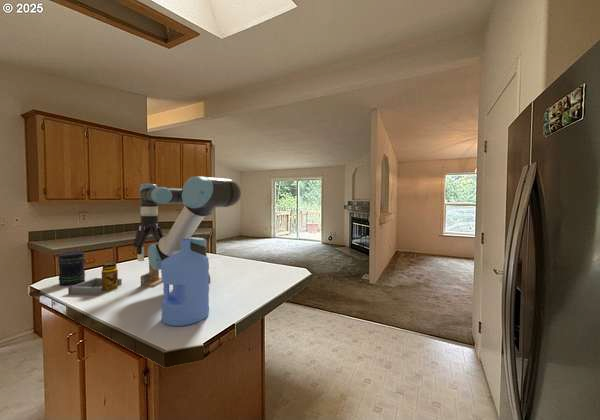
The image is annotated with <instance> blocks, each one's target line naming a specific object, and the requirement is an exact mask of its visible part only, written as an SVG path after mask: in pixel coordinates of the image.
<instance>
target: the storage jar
mask: <svg viewBox="0 0 600 420" xmlns="http://www.w3.org/2000/svg"><path fill="white" fill-rule="evenodd" d="M85 261H86V260H85V251H83V250H81V251H80V250H79V251H77V250H76V251H68V252H67V251H66V252H61V253H58V261H57V262H58V267H59V273H58V282H59V284H58V285H59V286H60V287H71V286H74V285H76V284H79V283H82V282H85V281H86V280H85V279H86V271H85Z"/></svg>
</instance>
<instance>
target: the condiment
mask: <svg viewBox="0 0 600 420" xmlns="http://www.w3.org/2000/svg"><path fill="white" fill-rule="evenodd" d="M117 267H118V266H117V262H107V263H103V264H102V270H101V278H102V285H101V286H100V293H101V292H114V291H117V290H118V289H119V288H121V286H122V285H120V286H118V279H119V278H118V277H119V275H118V273H119V272H118V270H119V269H118V268H117Z"/></svg>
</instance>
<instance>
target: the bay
mask: <svg viewBox="0 0 600 420" xmlns="http://www.w3.org/2000/svg"><path fill="white" fill-rule="evenodd" d="M122 281H123V278H118V286H120V285H121V286H122V284H123V283H122ZM99 286H100V287H101V286H102V277H94V278H92V279H91V278H90V279H88V280H85V282H82V283H79V284H76V285H72V286H67V287H68V288H67V289H68V295H83V296H84V295H86V296H99V295H101V292H100V287H99ZM121 286H120V287H121Z"/></svg>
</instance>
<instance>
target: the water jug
mask: <svg viewBox="0 0 600 420" xmlns="http://www.w3.org/2000/svg"><path fill="white" fill-rule="evenodd" d="M209 263H210V261H209V257H208V256H204V255H202V254H199V253H196V252H194V251H191V249H190V239H181V250H180V252H178V253H176V254H174V255H172V256H170V257H168V258H166V259H164V260H163V261H162V263H161V265H162V266H161V270H160V272H161V278H162V282H163V283H162V284H163V298H162V300H161V321H162V323H164V324H165V325H167V326H171V327H185V326H189V325H190V326H191V325H194V324H196V323H197V324H198V322H201V321H203V320H205V318H207V317H208V315H209V314H210V305H209V304H210V303H209V301H210V299H209V298H210V297H209V294H210V283H209V275H210V272H209V270H210V264H209ZM170 285H171V286H172V292H171V293H170Z"/></svg>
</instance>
